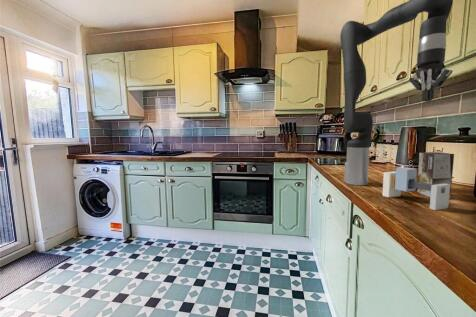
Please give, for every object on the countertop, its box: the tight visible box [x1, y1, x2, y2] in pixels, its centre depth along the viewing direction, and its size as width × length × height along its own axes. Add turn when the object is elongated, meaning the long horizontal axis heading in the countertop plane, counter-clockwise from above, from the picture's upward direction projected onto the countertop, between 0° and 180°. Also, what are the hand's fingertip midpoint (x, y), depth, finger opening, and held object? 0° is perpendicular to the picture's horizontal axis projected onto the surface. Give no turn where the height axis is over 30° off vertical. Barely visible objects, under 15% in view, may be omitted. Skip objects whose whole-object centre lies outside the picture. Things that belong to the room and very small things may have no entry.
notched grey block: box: [395, 167, 418, 193], centre depth 79 cm, size 4×5×8 cm
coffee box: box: [416, 151, 455, 200], centre depth 84 cm, size 9×6×16 cm
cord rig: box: [382, 170, 450, 211], centre depth 77 cm, size 18×6×9 cm, turn 18°
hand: (427, 101), depth 80 cm, fingers closed
